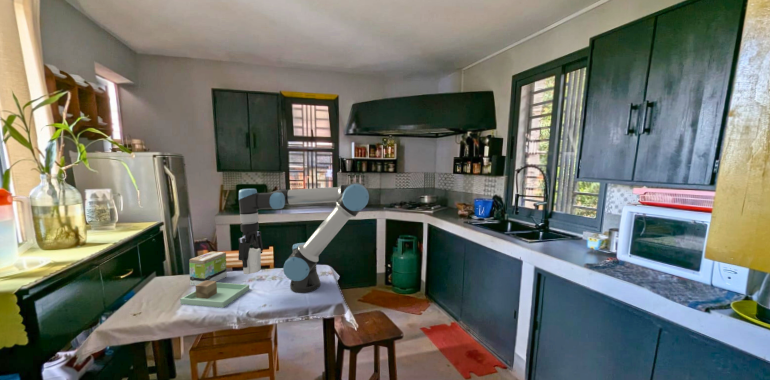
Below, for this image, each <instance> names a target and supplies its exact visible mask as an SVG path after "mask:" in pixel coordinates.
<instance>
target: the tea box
mask: <svg viewBox="0 0 770 380" xmlns="http://www.w3.org/2000/svg"><path fill="white" fill-rule="evenodd" d="M188 261H189V263H188V264H189V286H192V287H196V285H198V284H200V283H202V282H204V281H216V282H218V281H220V280H222V279H226V278H227V277H228V274H227V253H226V252H225V251H223V252H222V251H213V250H212V251H210V252H209V251H208V252H206V253H204V254H203V253H202V254H200V255H198V256H195V257H193V258H190V259H189V260H188ZM225 277H226V278H225Z"/></svg>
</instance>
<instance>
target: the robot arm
mask: <svg viewBox="0 0 770 380" xmlns="http://www.w3.org/2000/svg"><path fill="white" fill-rule="evenodd" d="M369 199H370V193H369V191H368V188H367V187H366V186H365V184H363V183H359V182H354V183H348V184H339V186H338V187H337V186H335V187H332V186H331V187H317V188H316V187H315V188H298V189H276V190H274V191H270V192H258V191H257V188H242V189H239V190H238V205H239V217H240V218H239V219H240V231H241V232H242V237H239V238H238V261H242V269H243V270H242V271H243V275H251V274H250V265H249V260H248V255H249V250H250V248H251V246H252V248H254V249H258V248H260V249H261V254H263V252H264V246H263V240H262V231H258V230H260V227H259V226H260V225H259V222H258V221H259V211H258V210H280V209H283V208H284V207H285V206H288V205H302V204H303V205H304V204H306V205H307V204H322V203H335V206H334V208H333V209H332V210H331V211H330V213H329V214H328V215H327V216H326V218H324V220H323V221H322V222H321V224H320V225H319V226H318V227H317V228H316V229H315V231H314V232H313V233H312V234H311V236H310V237H309V238H308V239H307V240H306V242H299V243H298V242H297V243H294V244H293V245H292V247H291V249H292V253H291V254H290V255H289V256H288V258H287V259H286V260H285V262H284V264H283V268H282V269H283V274H284V276H285V277H286V278H287V279H288V280H290V284H289V287H290V291H291V292H294V293H310V292H312V291H313V292H314V291H315V290H318V289H319V288H320V287H321V279H320V276H319V274H318V271H317V263H318V262H319V256H320V254H322V252H323V251H324V250H325V248H326V247H327V246H328V245H329V244H330V243H331V241H332V240H333V239H334V238H335V237H336V236H337V234H338V233H339V232H340V231H341V230H342V228H343V227H344V225H346V223H347V222H348V221H349V220H350V218H356V216H357V215H359V213H360V212H361V211H362V210H364V208H366V206H367V205H368V204H369ZM260 267H262V265H260Z"/></svg>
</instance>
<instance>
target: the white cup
mask: <svg viewBox="0 0 770 380" xmlns="http://www.w3.org/2000/svg"><path fill="white" fill-rule="evenodd" d="M261 255H262V253H261V249H260V248H258V249H254V248H253V247H250V250H249V255H248V260H249V265H250V274H249V275H251V274H255V273H256V274H257V273H258V272H260V271H261V267H262V265H261V264H262V259H261V258H262V256H261ZM260 265H261V267H260Z"/></svg>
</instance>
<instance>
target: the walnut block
mask: <svg viewBox="0 0 770 380" xmlns="http://www.w3.org/2000/svg"><path fill="white" fill-rule="evenodd" d="M216 282H217V281H204V282H202V283H200V284H198V285H196V286H195V291H196V298H205V299H208V298H210V297H211V296H213V295H215V294H216V293H217V284H216Z"/></svg>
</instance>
